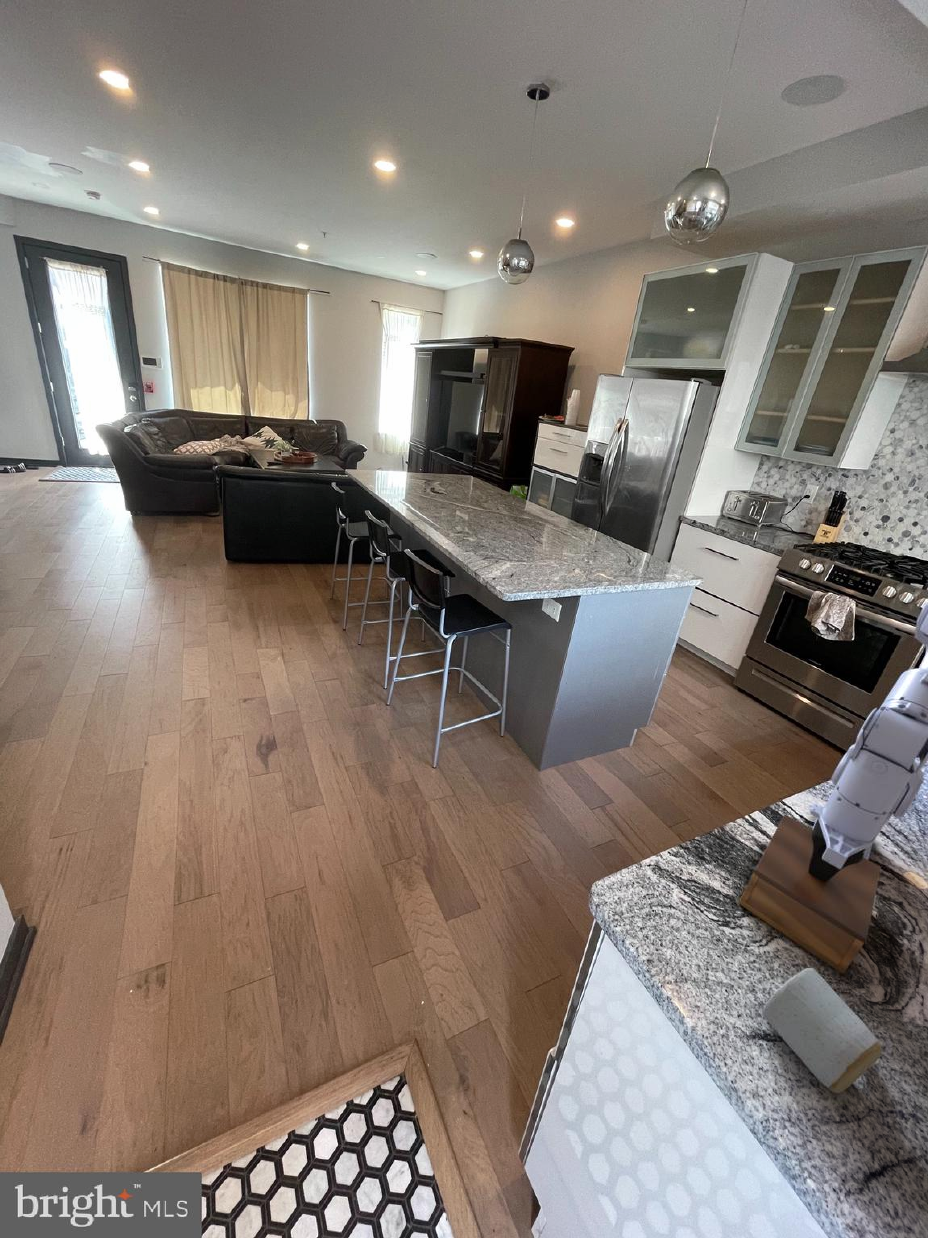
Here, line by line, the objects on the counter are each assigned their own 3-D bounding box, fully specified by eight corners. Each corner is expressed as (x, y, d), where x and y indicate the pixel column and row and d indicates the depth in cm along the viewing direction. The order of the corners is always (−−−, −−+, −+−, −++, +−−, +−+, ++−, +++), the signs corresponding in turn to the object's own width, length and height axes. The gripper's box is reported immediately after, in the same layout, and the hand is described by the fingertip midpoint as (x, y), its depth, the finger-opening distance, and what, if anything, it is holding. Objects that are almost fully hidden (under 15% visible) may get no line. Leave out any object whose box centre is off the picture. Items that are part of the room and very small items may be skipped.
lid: (782, 817, 80) (784, 814, 79) (878, 870, 72) (881, 866, 72) (753, 873, 68) (755, 869, 68) (864, 943, 61) (866, 939, 60)
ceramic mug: (826, 1112, 49) (862, 1067, 46) (751, 1024, 56) (778, 979, 53) (880, 1063, 54) (916, 1020, 51) (805, 988, 61) (833, 945, 58)
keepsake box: (767, 847, 81) (781, 819, 79) (860, 902, 74) (878, 873, 72) (738, 903, 70) (753, 873, 68) (842, 974, 63) (863, 943, 61)
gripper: (835, 759, 71) (796, 831, 76) (815, 804, 61) (771, 884, 66) (896, 787, 67) (851, 862, 72) (886, 841, 57) (834, 924, 62)
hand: (817, 875), depth 69 cm, fingers closed, pressing on lid
